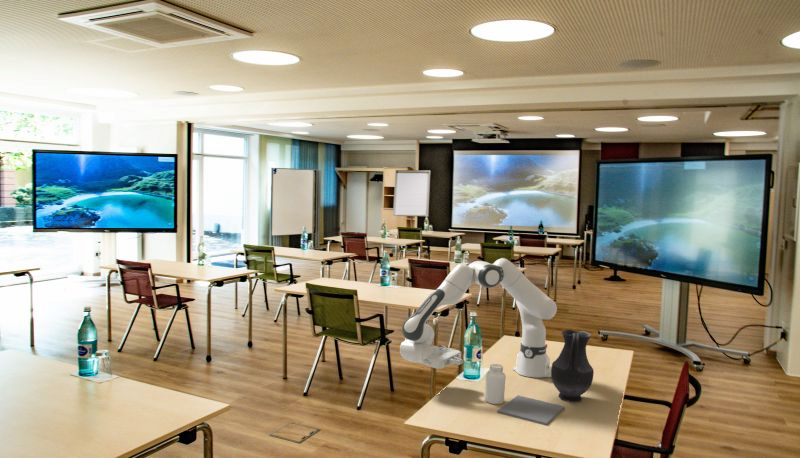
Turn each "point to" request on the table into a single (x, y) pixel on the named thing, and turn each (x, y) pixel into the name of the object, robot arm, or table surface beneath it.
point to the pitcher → (572, 367)
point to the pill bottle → (495, 384)
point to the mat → (531, 409)
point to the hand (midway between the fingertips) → (461, 362)
